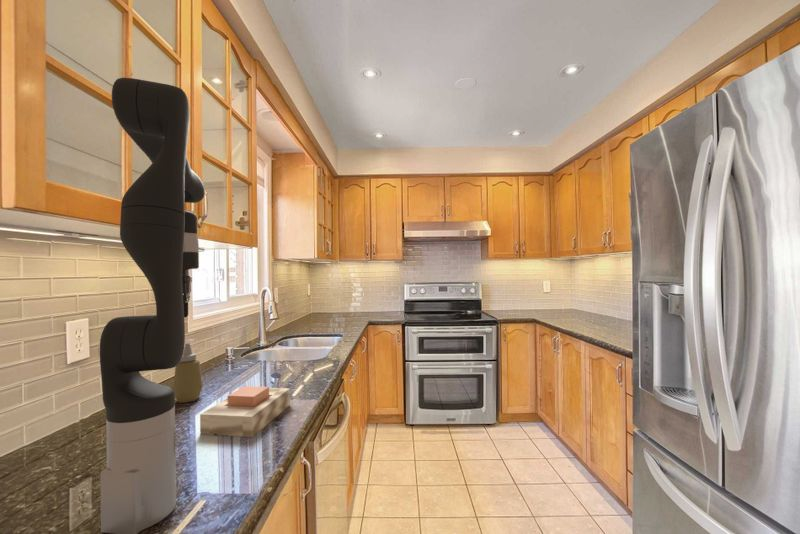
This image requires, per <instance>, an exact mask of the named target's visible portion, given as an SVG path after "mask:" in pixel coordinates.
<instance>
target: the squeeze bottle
mask: <svg viewBox="0 0 800 534" xmlns="http://www.w3.org/2000/svg"><path fill="white" fill-rule="evenodd" d="M174 368H175V370H174V377H173V378H174V379H173V380H174V381H173V386H172V389H173V390H174V393H175V400H176V401H177V402H178V403H181V404H182V403H183V404H184V403H190V402H193V401H196V400H198V399H199V398H200V395H201V393H202V389H203V385H204V384H203V378H202V369H201V362H200V360H198V359H197V353H195V352H193V350H192V347H191V343H190V342H187V343H185V344H184V351H183V356H182V358H181V360H180V362H179V364H178V365H177V366H175V367H174Z"/></svg>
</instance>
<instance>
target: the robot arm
mask: <svg viewBox="0 0 800 534" xmlns="http://www.w3.org/2000/svg"><path fill="white" fill-rule="evenodd" d="M189 102H190V101H189V98H188V96H187V94H186V91H184V90H183V89H182V88H181V87H178V86H175V85H171V84H167V83H161V82H155V81H149V80H145V79H139V78H131V77H119V78H117V79H116V80H115V81H114V82H113V84H112V89H111V105H112V108H113V113H114V115H115V117H116V120H117V121H118V123H119V125H120V127H122V129H123V130H124V132H125V133H126V134H127V135H128V136H129V137H130V139H132V141H133V142H134V143H135V144H136V145H137V146H138V148H139V149H140V150H141V151H142V152H143V153H144V154H145V155H146V156H147V158H148V159H149V160H150V162H151V164H150V165H149V166H148V168H147V169H146V170H145V171H144V172H143V173H141V175H140V176H139V177H138V178H137V179H136V180H135V181H134V182H133V183H132V184H131V186H130V187H129V188H128V189H126V190H127V191H126V192H125V193H124V195H123V197H122V199H121V205H120V217H119V218H120V222H119V235H120V236H119V238H120V240H121V241H120V242H121V243H122V245H123V246H124V249H125V250H126V252H127V253H128V254H129V257H131V258H132V260H133V261H134V264H136V265H137V267H138V269H140V271H141V272H142V274H144V276H145V278H146V279H147V281H148V283H149V285H150V287H151V290H152V292H153V295H154V301H155V308H156V309H155V310H156V311H155V312H156V313H155V314H154V315H153V314H151V315H148V314H147V315H129V316H120V317H119V316H118V317H114V318H112V319H111V320H109V321H108V322H107V323H106V325H105V326H104V328H103V330H102V332H101V335H100V340H99V364H100V366H99V367H100V377H101V392H102V402H103V405H104V408H105V412H106V417H105V418H106V422H105V423H106V426H105V427H106V468H104V469H103V470H102V471H100V474H99V476H100V477H99V479H100V483H99V484H100V485H99V486H100V533H103V534H104V533H105V534H139V533H141V532H142V531H143V530H146V529H148V528H150V527H152V526H154V525H156V524H158V523H159V522H161V521H162V520H164V519H165V518H166V517H168V516H169V515H170V514H171V513H172V512H173V511H174V510H175V507H176V505H177V471H176V470H177V468H176V465H177V463H176V458H177V457H176V397H175V393H174V390H173V387H171V386H169V385H165V384H161V383H156V382H154V381H151V380H150V379H147V378H145V377H144V376H143V375H142V374H141V373H140V372H148V371H149V372H150V371H160V370H161V371H163V370H168V369H169V370H170V369H174V368H176V366H177V365H178V364H179V362H180V360H181V358H182V356H183V352H184V348H185V344H186V343H185V342H186V339H185V337H186V334H185V333H186V331H185V328H186V325H185V318H187V317H188V316H189V302H190V298H191V295H190V294H191V292H192V282H193V276H192V275H189V273H190V272H189V270H196V269H198V268H200V254H199V253H200V252H199V250H200V249H199V246H200V245H199V237H198V216H197V215H196V213H194V212H193V211H189V210H186V205H185V204H186V203H188V204H196V203H199V202H201V201H202V200H203V199H204V198H205V195H206V190H205V185H204V183H203V181H202V179H201V178H200V176H199V175H198V174H197V173H196V172H195V171H194V170H193V169H192V168H191V166H190V163H189V160H188V159H189V158H188V157H187V153H188V152H187V151H188V144H189V143H188V141H189V133H190V120H191V119H190V113H191V112H190V103H189Z"/></svg>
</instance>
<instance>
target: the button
mask: <svg viewBox="0 0 800 534" xmlns="http://www.w3.org/2000/svg"><path fill="white" fill-rule="evenodd" d="M269 388H270V387H269V386H257V385H255V386H253V385H251V386H250V385H244V386H242V387H240V388H238V389H237V390H235V391H233V392H232V393H230V394H228V395H227V398H228V406H235V407H256V406H258V405H259V404H260V403H262V402H263V401H265V400H266V399H268V398H269Z"/></svg>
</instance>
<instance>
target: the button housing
mask: <svg viewBox="0 0 800 534" xmlns="http://www.w3.org/2000/svg"><path fill="white" fill-rule="evenodd" d="M290 391H291V388H289V387H288V388H285V387H283V388H281V387H269V398H268V399H266V400H265V401H263V402H262V403H260V404H259V405H258V406H256V407H235V406H228V397H227V398H226V399H224V400H223V401H220V402H219V403H217V404H215V405H214V406H211V407H210V408H208V409H207V410H204V411H202V412H201V413H200V414H199V423H200V424H199V428H200V429H199V430H200V432H199V434H200V435H204V434H205V435H206V434H217V435H216V436H222V435H228V436H227V437H239V438H240V437H243V438H253V437H254V436H255V435H257V434H258V433H259V432H260V431H261V430H262V429H264V428H265V427H266V426H267V425H268V424H270V423H271V422H272V421H273V420H274V419H275V418H277V417H278V416H280V414H281V413H283V412H284V411H285V410H286V409H288V408H289V407H290V405H291V392H290Z"/></svg>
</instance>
